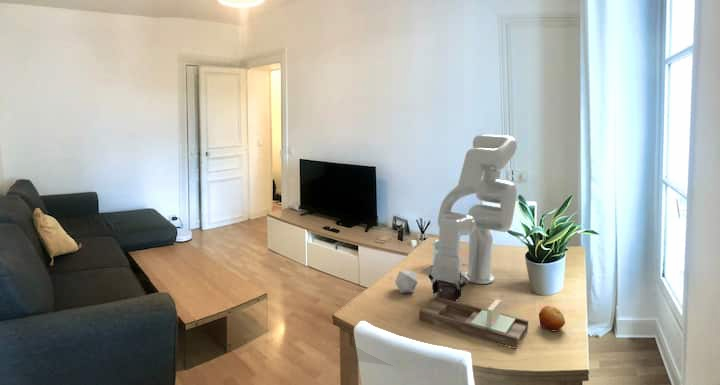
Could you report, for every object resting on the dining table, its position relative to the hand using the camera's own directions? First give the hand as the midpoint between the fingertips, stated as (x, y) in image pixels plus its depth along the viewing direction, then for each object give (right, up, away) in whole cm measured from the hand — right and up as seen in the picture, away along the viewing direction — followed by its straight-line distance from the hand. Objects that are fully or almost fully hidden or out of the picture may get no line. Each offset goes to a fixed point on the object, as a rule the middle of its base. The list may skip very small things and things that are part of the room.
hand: (446, 295), depth 166 cm
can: (+4, +5, +34) cm, 35 cm away
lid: (+10, -4, -23) cm, 26 cm away
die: (-14, 0, +8) cm, 16 cm away
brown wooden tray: (+5, -5, -19) cm, 21 cm away
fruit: (+30, -6, -20) cm, 37 cm away
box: (0, -2, 0) cm, 2 cm away
